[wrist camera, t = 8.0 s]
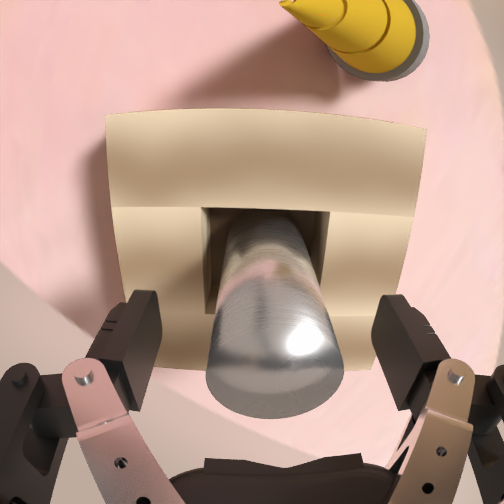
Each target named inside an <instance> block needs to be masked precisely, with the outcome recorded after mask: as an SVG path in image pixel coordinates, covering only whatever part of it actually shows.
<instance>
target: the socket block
mask: <svg viewBox="0 0 504 504" xmlns="http://www.w3.org/2000/svg"><path fill="white" fill-rule="evenodd" d="M105 130H106V151H107V166H108V179H109V190H110V200H111V209H112V218H113V226H114V233H115V240H116V247H117V254H118V260H119V266H120V272H121V278H122V283H123V289H124V294H125V299H126V303H127V302H128V300H129V298H130V296H131V295H132V293H133V291H134V290H135V289H138V290H155V291H156V293H157V296H158V303H159V309H160V315H161V321H162V340H161V344H160V347H159V350H158V353H157V357H156V360H155V363H154V366H153V367H163V368H174V369H186V370H201V371H206V367H207V361H208V354H209V348H210V341H211V335H212V329H213V322H214V316H215V310H216V304H217V298H218V292H219V286H220V280H221V274H222V268H223V262H224V256H225V251H226V245H227V239H228V234H229V230H230V227H231V225H232V223H233V222H234V220H235V219H236V218H237V217H238V216H239V215H240V214H241V213H242V212H244V211H246V210H247V209H250V208H258V209H282V210H284V211H286V212H287V213H289V214H290V215H291V216H292V217H293V218H294V219H295V221H296V222H297V224H298V226H299V229H300V231H301V234H302V237H303V240H304V243H305V246H306V248H307V251H308V254H309V257H310V260H311V263H312V266H313V269H314V272H315V275H316V277H317V280H318V283H319V286H320V289H321V292H322V295H323V298H324V302H325V305H326V308H327V311H328V314H329V317H330V320H331V323H332V326H333V330H334V333H335V336H336V339H337V342H338V346H339V349H340V352H341V355H342V359H343V363H344V371H356V370H370V369H371V368H372V365H373V362H374V360H375V357H376V352H375V350H374V348H373V345H372V341H371V329H372V325H373V322H374V319H375V315H376V312H377V308H378V304H379V301H380V298H381V296H382V295H395V294H396V290H397V286H398V283H399V279H400V275H401V271H402V267H403V263H404V259H405V255H406V251H407V246H408V242H409V238H410V233H411V228H412V223H413V218H414V213H415V208H416V202H417V197H418V191H419V185H420V179H421V172H422V165H423V157H424V150H425V141H426V132H427V129H423V128H418V127H413V126H408V125H403V124H398V123H393V122H387V121H380V120H374V119H367V118H360V117H353V116H345V115H336V114H327V113H316V112H305V111H291V110H275V109H249V108H194V109H169V110H152V111H139V112H129V113H120V114H111V115H105Z"/></svg>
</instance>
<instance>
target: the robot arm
mask: <svg viewBox="0 0 504 504" xmlns="http://www.w3.org/2000/svg"><path fill="white" fill-rule="evenodd" d="M161 340H162V321H161V315H160V309H159V303H158V296H157V293H156V291H155V290H138V289H135V290H134V291H133V293H132V295H131V296H130V298H129V300H128V302H127V303H123V302H121V303H119V304H118V305H117V306H116V307H114V308H113V309H112V310H111V311H110V313H109V314H108V316H107V318H106V320H105V322H104V323H103V325H102V327H101V330H99V332H98V334H97V336H96V338H95V340H94V341H93V343H92V345H91V347H90V349H89V351H88V353H87V355H86V357H85V358H82V359H78V360H76V361H74V362H72V363H70V364H69V365H68V366H67V367H66V368H65V370H64V371H63V373H62V374H52V375H40V374H39V372H38V370H37V369H36V367H35V366H33V365H32V364H29V363H19V364H16V365H14V366H12V367H11V368H9V369H8V370H7V371H6V372H5V374H4V375H3V377H2V379H1V380H0V504H50V500H51V497H52V492H53V489H54V485H55V482H56V478H57V474H58V471H59V467H60V464H61V461H62V457H63V454H64V451H65V447H66V444H67V441H68V438H70V437H77V438H78V441H79V444H80V446H81V449H82V452H83V454H84V456H85V459H86V461H87V464H88V466H89V468H90V471H91V473H92V475H93V477H94V480H95V482H96V484H97V486H98V488H99V490H100V492H101V494H102V497H103V499H104V501H105V503H106V504H452V503H453V500H454V497H455V494H456V491H457V488H458V485H459V482H460V478H461V475H462V472H463V468H464V465H465V461H466V457H467V454H468V456H469V459H470V462H471V465H472V468H473V471H474V474H475V477H476V480H477V484H478V487H479V490H480V493H481V497H482V500H483V504H504V442H503V439H502V437H501V435H500V432H499V430H498V428H497V424H498V423H499V422H500V421H501V419H502V420H503V422H504V365H500V366H498V367H497V368H496V369H495V371H494V372H493V374H492V376H484V375H475V374H474V372H473V370H472V369H471V367H470V366H469V365H467V364H466V363H464V362H463V361H460V360H457V359H451V357H450V356H449V354H448V352H447V351H446V349H445V347H444V346H443V344H442V343H441V341H440V339H439V338H438V336H437V335H436V334H435V331H434V330H433V328H432V327H431V326H430V324H429V322H428V321H427V319H426V317H425V316H424V315H423V314H422V313H421V312H419V311H418V310H417V309H416V308H414V307H411V306H410V305H409V303H408V302H407V300H406V299H405V297H404V296H403V295H401V294H399V295H382V296H381V298H380V301H379V304H378V308H377V312H376V315H375V319H374V322H373V325H372V329H371V341H372V345H373V348H374V350H375V352H376V355H377V357H378V360H379V362H380V365H381V367H382V370H383V372H384V375H385V377H386V380H387V382H388V385H389V388H390V390H391V393H392V396H393V398H394V401H395V404H396V406H397V409H398V411H401V410H407V409H410V410H411V413H412V414H411V416H410V417H409V419H408V421H407V424H406V426H405V428H404V431H403V433H402V435H401V438H400V440H399V442H398V444H397V446H396V448H395V451H394V453H393V455H392V457H391V459H390V460H389V462H388V464H387V465H386V467H385V468H384V467H381V466H377V465H374V464H368V463H363V460H362V456H361V453H358V454H350V455H341V456H332V457H324V458H321V459H317V460H314V461H311V462H307V463H304V464H301V465H297V466H293V467H289V468H280V467H275V466H270V465H264V464H260V463H256V462H251V461H247V460H231V459H211V458H205V462H204V468H198V469H194V470H190V471H186V472H183V473H181V474H178V475H176V476H174V477H172V478H171V479H169V480H168V478H167V477H166V475H165V474H164V472H163V470H162V469H161V467H160V466H159V464H158V463H157V461H156V460H155V458H154V456H153V455H152V453H151V451H150V450H149V448H148V446H147V445H146V443H145V442H144V440H143V438H142V436H141V434H140V433H139V431H138V429H137V428H136V426H135V424H134V422H133V420H132V418H131V417H130V415H129V413H128V412H129V410H133V411H140V409H141V406H142V403H143V399H144V396H145V392H146V389H147V386H148V382H149V379H150V376H151V373H152V369H153V366H154V363H155V360H156V357H157V353H158V350H159V347H160V344H161Z"/></svg>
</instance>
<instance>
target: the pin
mask: <svg viewBox="0 0 504 504" xmlns="http://www.w3.org/2000/svg"><path fill="white" fill-rule="evenodd" d="M343 375H344V363H343V359H342V355H341V352H340V349H339V346H338V342H337V339H336V336H335V333H334V330H333V326H332V323H331V320H330V317H329V314H328V311H327V308H326V305H325V302H324V298H323V295H322V292H321V289H320V286H319V283H318V280H317V277H316V275H315V272H314V269H313V266H312V263H311V260H310V257H309V254H308V251H307V248H306V246H305V243H304V240H303V237H302V234H301V231H300V229H299V226H298V224H297V222H296V221H295V219H294V218H293V217H292V216H291V215H290V214H289V213H287V212H286V211H284V210H282V209H258V208H250V209H247V210H246V211H244V212H242V213H241V214H240V215H239V216H238V217H237V218H236V219H235V220H234V222H233V223H232V225H231V227H230V230H229V234H228V239H227V245H226V251H225V256H224V262H223V268H222V274H221V280H220V286H219V292H218V298H217V304H216V310H215V316H214V322H213V329H212V335H211V341H210V348H209V354H208V361H207V367H206V382H207V386H208V388H209V390H210V392H211V394H212V395H213V396H214V397H215V399H216V400H217V401H218V402H220V403H221V404H222V405H223V406H225V407H226V408H228V409H230V410H232V411H234V412H236V413H239V414H242V415H245V416H249V417H254V418H261V419H280V418H287V417H292V416H296V415H300V414H303V413H305V412H308V411H310V410H312V409H314V408H316V407H318V406H320V405H321V404H323V403H324V402H325V401H327V400H328V399H329V398H330V397H331V396H332V395H333V394H334V393H335V392H336V390H337V389H338V387H339V386H340V384H341V381H342V379H343Z"/></svg>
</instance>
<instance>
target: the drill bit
mask: <svg viewBox="0 0 504 504" xmlns="http://www.w3.org/2000/svg"><path fill="white" fill-rule="evenodd" d="M279 5H280V6H282V7H283V8H284V9H285V10H287V11H288V12H289V13H290V14H292V15H293V16H294V17H295V18H296V19H298V20H299V21H300V22H301V23H302V24H304V25H305V26H306V27H307V28H308V29H309V30H311V31H312V32H313V33H314V34H315V35H316V36H317V37H319V38H320V39H321V40H322V41H323V42H324V43H325V44H326V46H327V48H328V50H329V52H330V54H331V56H332V57H333V59H334V60H335V61H336V63H337V64H338V65H339V66H341V67H342V68H343V69H344V70H345V71H347V72H348V73H350V74H351V75H354V76H356V77H358V78H361V79H365V80H370V81H386V82H388V81H394V80H398V79H401V78H403V77H406V76H407V75H409V74H410V73H412V72H413V71H414V70H415V69H416V68H417V67H418V66H419V65H420V64H421V62H422V61H423V59H424V58H425V56H426V53H427V50H428V47H429V37H430V36H429V27H428V23H427V20H426V17H425V15H424V13H423V12H422V10H421V8H420V7H419V6H418V4H417V3H416V2H415V1H414V0H294V2H292V1H290V0H284V1H280V2H279Z"/></svg>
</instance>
